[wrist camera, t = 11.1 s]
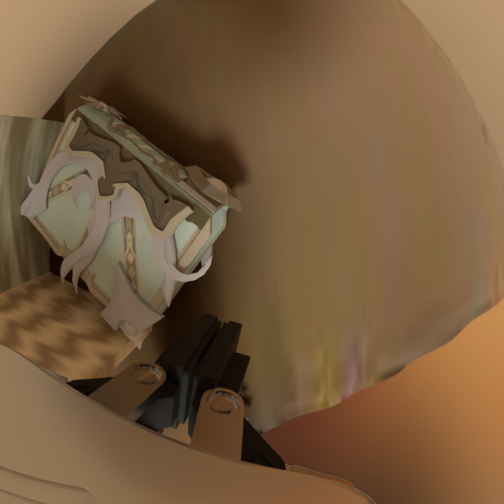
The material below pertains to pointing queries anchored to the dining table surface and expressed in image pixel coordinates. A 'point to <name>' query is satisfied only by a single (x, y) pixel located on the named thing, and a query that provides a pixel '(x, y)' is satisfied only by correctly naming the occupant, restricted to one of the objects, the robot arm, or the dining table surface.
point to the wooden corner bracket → (45, 272)
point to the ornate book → (126, 216)
